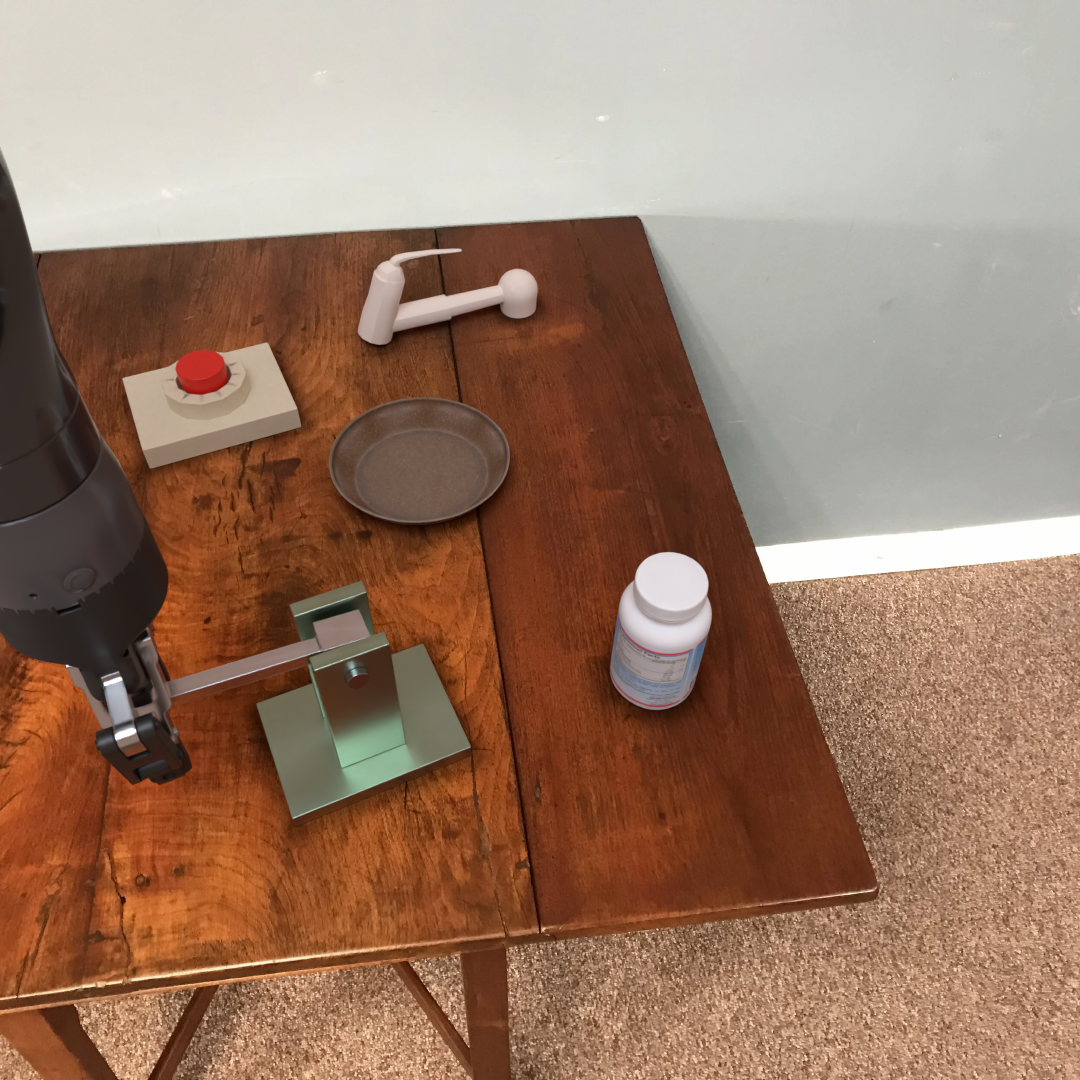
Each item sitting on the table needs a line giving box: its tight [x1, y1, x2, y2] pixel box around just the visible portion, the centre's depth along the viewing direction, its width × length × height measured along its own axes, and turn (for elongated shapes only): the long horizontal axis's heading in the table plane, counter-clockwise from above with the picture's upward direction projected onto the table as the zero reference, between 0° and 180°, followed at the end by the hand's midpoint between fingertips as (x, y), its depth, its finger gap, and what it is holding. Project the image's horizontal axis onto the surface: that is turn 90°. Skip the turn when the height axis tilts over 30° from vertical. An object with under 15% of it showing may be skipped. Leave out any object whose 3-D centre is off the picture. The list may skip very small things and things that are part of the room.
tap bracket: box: [255, 580, 473, 827], centre depth 58 cm, size 12×9×13 cm
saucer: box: [328, 396, 511, 526], centre depth 78 cm, size 15×15×3 cm
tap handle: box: [130, 609, 370, 709], centre depth 53 cm, size 13×5×2 cm, turn 115°
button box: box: [121, 342, 302, 469], centre depth 82 cm, size 13×10×4 cm
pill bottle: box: [609, 551, 713, 711], centre depth 63 cm, size 6×6×11 cm
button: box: [176, 349, 228, 395], centre depth 80 cm, size 4×4×2 cm
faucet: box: [357, 248, 539, 346], centre depth 91 cm, size 4×18×10 cm, turn 113°
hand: (162, 728), depth 53 cm, fingers closed on tap handle, 5 cm apart
